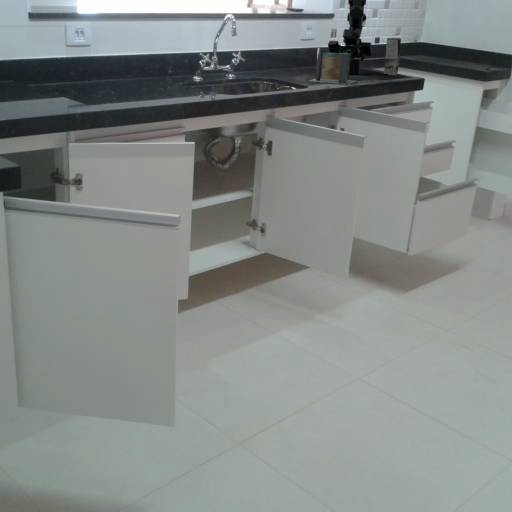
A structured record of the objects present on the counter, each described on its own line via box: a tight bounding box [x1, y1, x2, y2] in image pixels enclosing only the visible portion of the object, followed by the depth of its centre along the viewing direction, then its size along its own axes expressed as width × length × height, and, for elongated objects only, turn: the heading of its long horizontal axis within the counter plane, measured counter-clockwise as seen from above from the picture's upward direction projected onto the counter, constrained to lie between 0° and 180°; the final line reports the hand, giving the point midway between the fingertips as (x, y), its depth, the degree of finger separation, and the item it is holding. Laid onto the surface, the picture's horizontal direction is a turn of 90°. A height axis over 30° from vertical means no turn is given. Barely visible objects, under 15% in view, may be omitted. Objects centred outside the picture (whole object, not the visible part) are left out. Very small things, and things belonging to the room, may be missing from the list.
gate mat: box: [308, 77, 357, 85], centre depth 307 cm, size 18×11×1 cm, turn 67°
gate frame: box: [315, 47, 349, 84], centre depth 302 cm, size 14×2×14 cm, turn 59°
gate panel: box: [321, 52, 350, 80], centre depth 305 cm, size 12×1×11 cm, turn 87°
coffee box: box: [383, 37, 402, 76], centre depth 334 cm, size 9×6×16 cm
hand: (345, 63), depth 305 cm, fingers closed
